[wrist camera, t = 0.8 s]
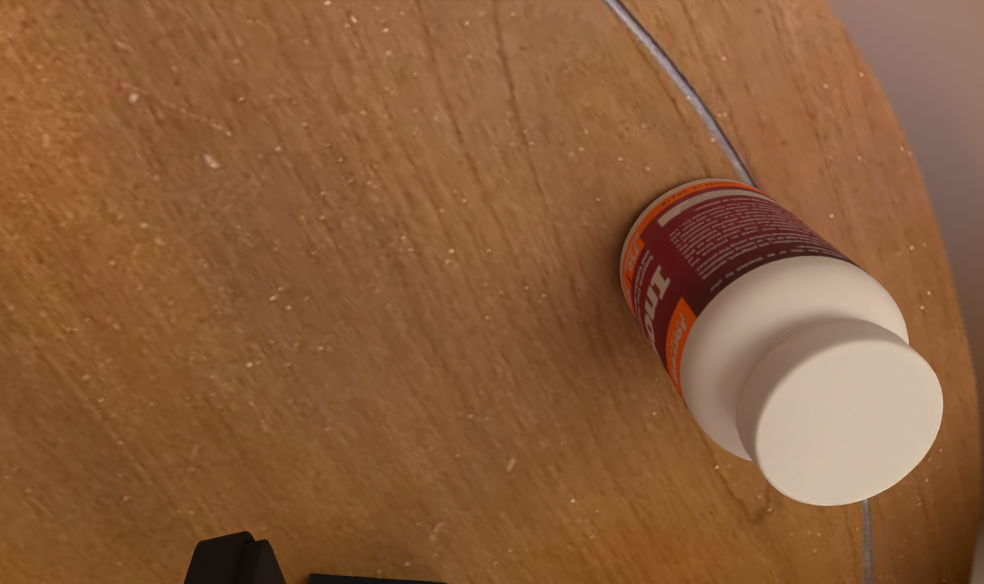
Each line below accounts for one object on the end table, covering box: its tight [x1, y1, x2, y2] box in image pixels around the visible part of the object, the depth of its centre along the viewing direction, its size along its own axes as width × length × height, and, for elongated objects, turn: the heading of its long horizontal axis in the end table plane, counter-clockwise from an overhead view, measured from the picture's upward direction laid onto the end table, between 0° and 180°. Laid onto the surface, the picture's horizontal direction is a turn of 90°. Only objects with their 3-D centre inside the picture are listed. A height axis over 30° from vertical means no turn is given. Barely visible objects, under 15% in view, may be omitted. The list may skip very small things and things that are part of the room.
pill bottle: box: [620, 178, 943, 506], centre depth 25 cm, size 6×6×11 cm
